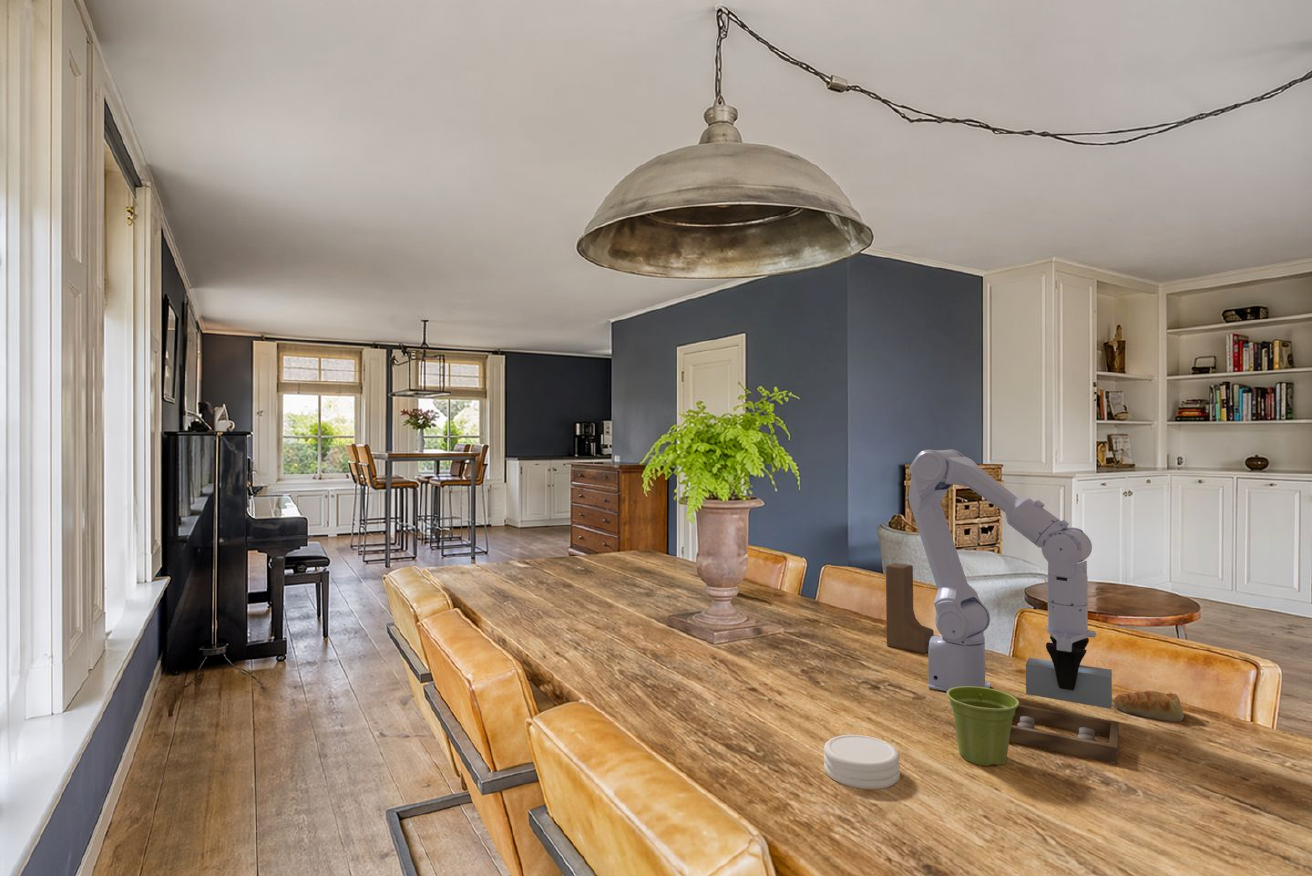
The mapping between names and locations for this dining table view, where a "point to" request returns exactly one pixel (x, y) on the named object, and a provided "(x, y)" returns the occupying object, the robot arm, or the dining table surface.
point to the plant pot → (982, 723)
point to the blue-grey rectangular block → (1088, 689)
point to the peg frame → (1063, 743)
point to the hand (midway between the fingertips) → (1067, 684)
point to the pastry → (1151, 705)
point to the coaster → (861, 761)
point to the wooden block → (903, 611)
